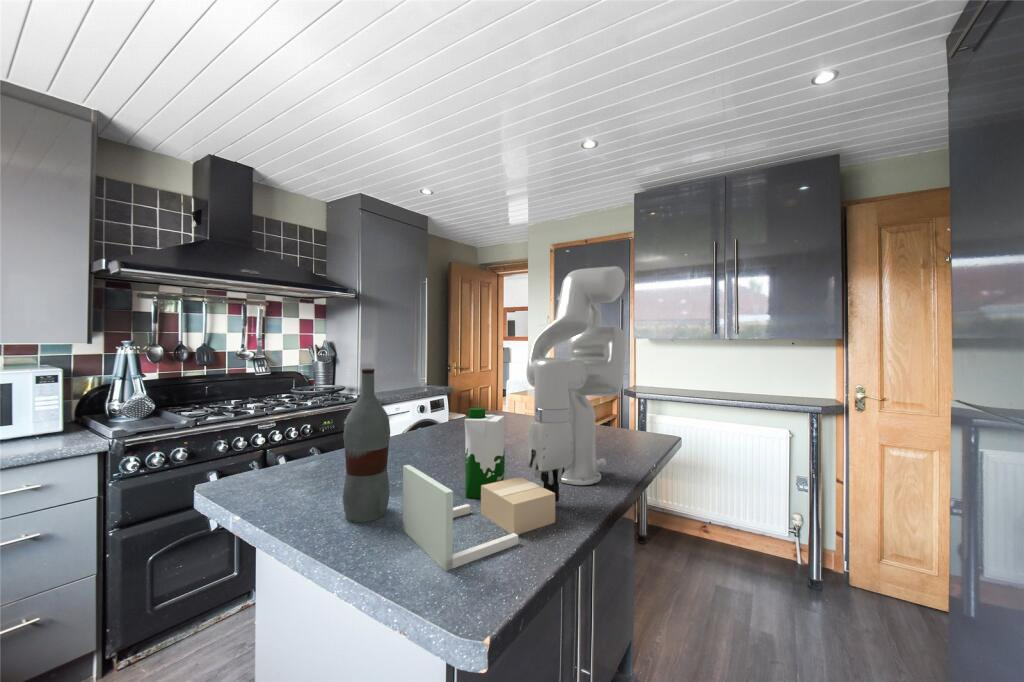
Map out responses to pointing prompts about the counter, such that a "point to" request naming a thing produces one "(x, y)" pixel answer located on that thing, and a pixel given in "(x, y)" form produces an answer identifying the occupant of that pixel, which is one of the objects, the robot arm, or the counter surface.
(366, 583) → the counter surface
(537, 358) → the robot arm
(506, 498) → the kraft carton
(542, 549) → the counter surface
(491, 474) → the milk carton
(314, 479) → the counter surface
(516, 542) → the display stand
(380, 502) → the bottle
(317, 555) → the counter surface
